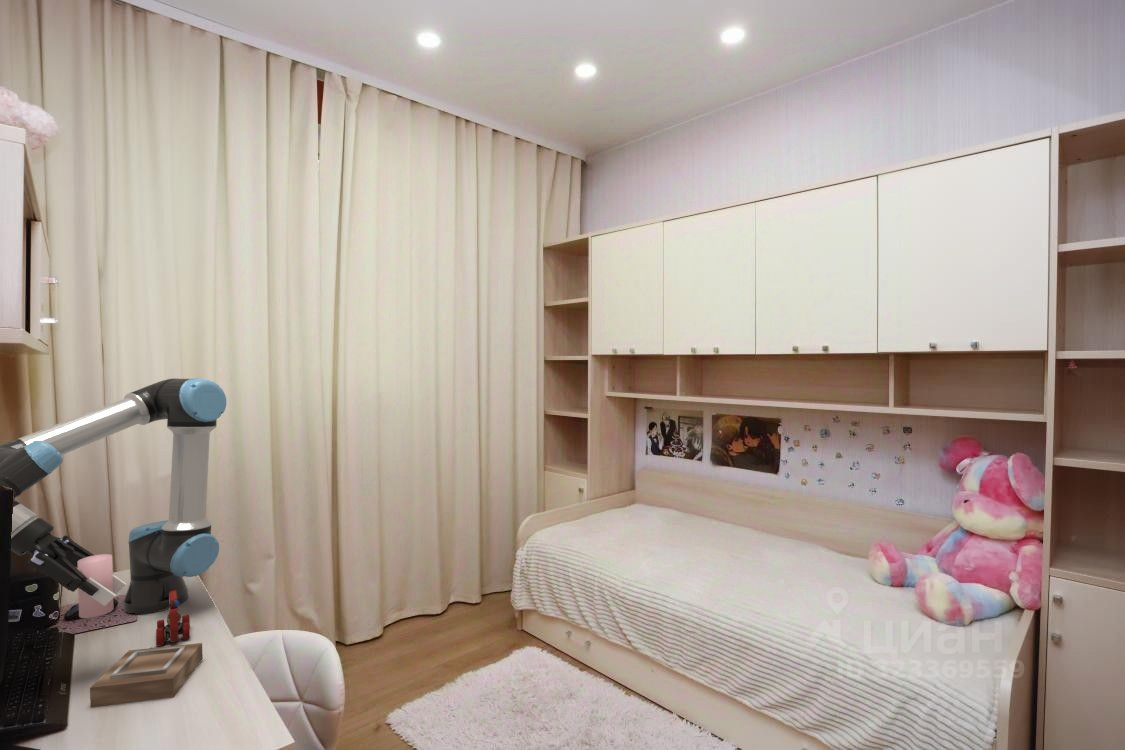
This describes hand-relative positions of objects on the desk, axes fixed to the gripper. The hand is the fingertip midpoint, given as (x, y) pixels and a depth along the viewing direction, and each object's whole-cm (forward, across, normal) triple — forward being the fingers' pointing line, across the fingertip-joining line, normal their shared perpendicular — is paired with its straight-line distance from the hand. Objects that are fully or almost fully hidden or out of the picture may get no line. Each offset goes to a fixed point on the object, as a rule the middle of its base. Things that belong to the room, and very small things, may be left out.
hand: (115, 594), depth 129 cm
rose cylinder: (0, 0, -5) cm, 5 cm away
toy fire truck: (+18, -13, -7) cm, 23 cm away
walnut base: (+18, +8, -6) cm, 21 cm away
